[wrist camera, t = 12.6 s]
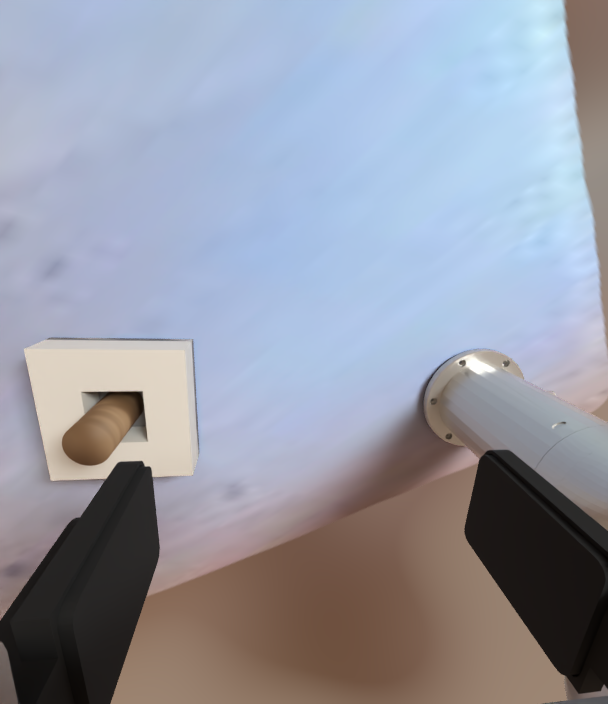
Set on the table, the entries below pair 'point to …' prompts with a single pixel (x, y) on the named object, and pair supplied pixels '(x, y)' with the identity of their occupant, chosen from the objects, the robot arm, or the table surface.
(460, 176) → the table surface
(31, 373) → the bore block
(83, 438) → the pin
